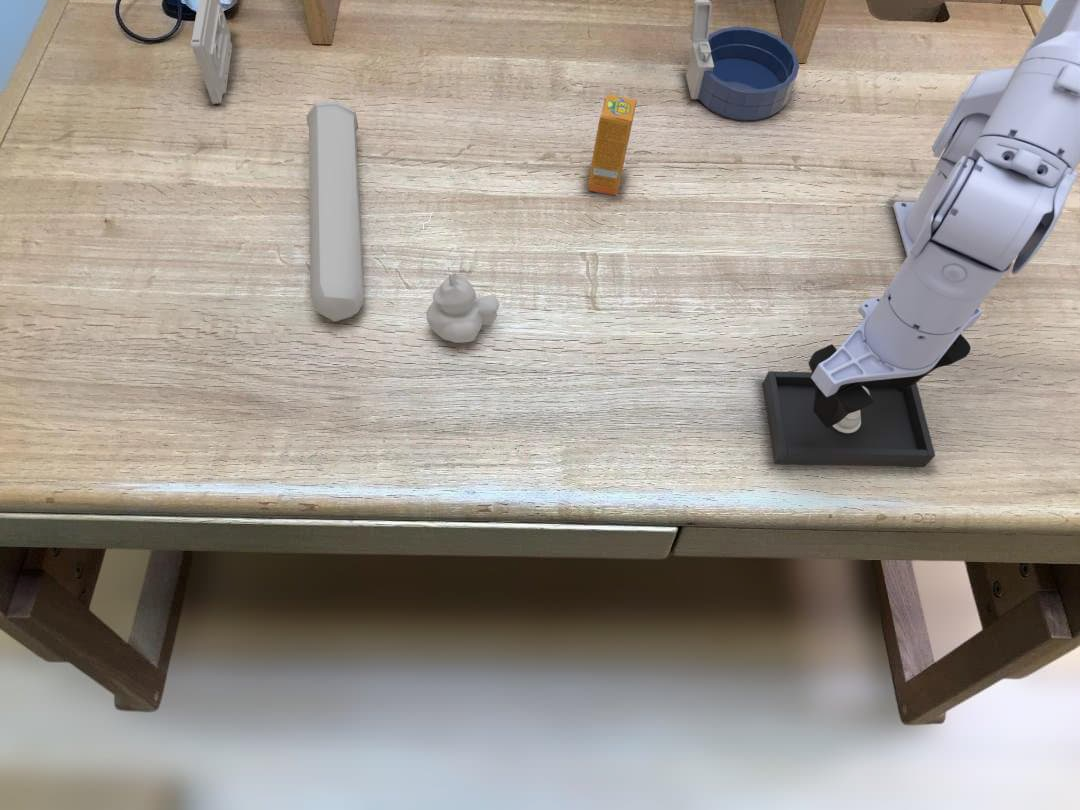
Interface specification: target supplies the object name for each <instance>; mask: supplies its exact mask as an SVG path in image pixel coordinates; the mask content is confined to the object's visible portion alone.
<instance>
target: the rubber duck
mask: <svg viewBox="0 0 1080 810" xmlns="http://www.w3.org/2000/svg"><path fill="white" fill-rule="evenodd" d="M432 300H433V301H432V302H431V304H430V305H429V306H428V307H427V310H426V321H427V323H428V325H429V327H430V329H431V330H432V331H433V332H434V333H435V334H436V335H437V336H439V337H440V338H442V339H443V340H445V341H450V342H453V343H456V344H461V343H472V342H473V341H475V340H476V338H477V336H478V334H479V332H480V331H481V329H482V327H483V325H489V324H492V323H494V322H495V321H496V320H497V318H498V313H497V311H498V310H499V307H500V302H499V299H498V298H497V297H496V296H493V295H485V296H481V297H477V293H476V290H475V289H474V287H473V285H472V284H471V282H470V281H469V280H468V279H467V278H466V277H464V276H462V275H460V274H457V273H455V272H453V273H452V274H448V277H447V278H446V279H444V281H442V283H440V285H439V286H438V287H437V288H436V289H435V290H434V292H433V294H432Z"/></svg>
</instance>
